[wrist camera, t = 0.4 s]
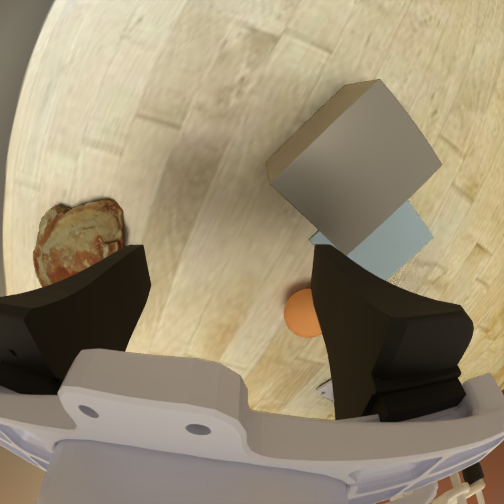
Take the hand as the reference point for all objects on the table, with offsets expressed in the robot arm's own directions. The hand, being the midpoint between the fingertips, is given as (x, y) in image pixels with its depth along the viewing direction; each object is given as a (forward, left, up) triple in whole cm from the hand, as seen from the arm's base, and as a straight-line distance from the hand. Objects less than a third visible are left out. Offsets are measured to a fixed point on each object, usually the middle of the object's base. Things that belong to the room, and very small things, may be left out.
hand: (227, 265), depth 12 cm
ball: (-10, +3, -8) cm, 13 cm away
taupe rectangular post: (-3, -7, -10) cm, 13 cm away
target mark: (-10, -5, -10) cm, 15 cm away
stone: (+7, +14, -11) cm, 19 cm away
